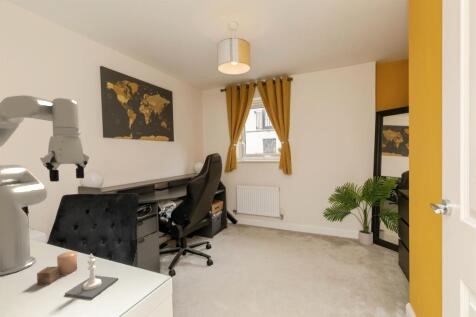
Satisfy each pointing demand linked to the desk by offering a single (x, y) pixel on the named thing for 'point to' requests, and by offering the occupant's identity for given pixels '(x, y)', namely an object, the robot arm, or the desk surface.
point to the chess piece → (91, 276)
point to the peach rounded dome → (67, 263)
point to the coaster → (91, 293)
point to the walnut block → (47, 275)
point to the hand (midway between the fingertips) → (68, 179)
